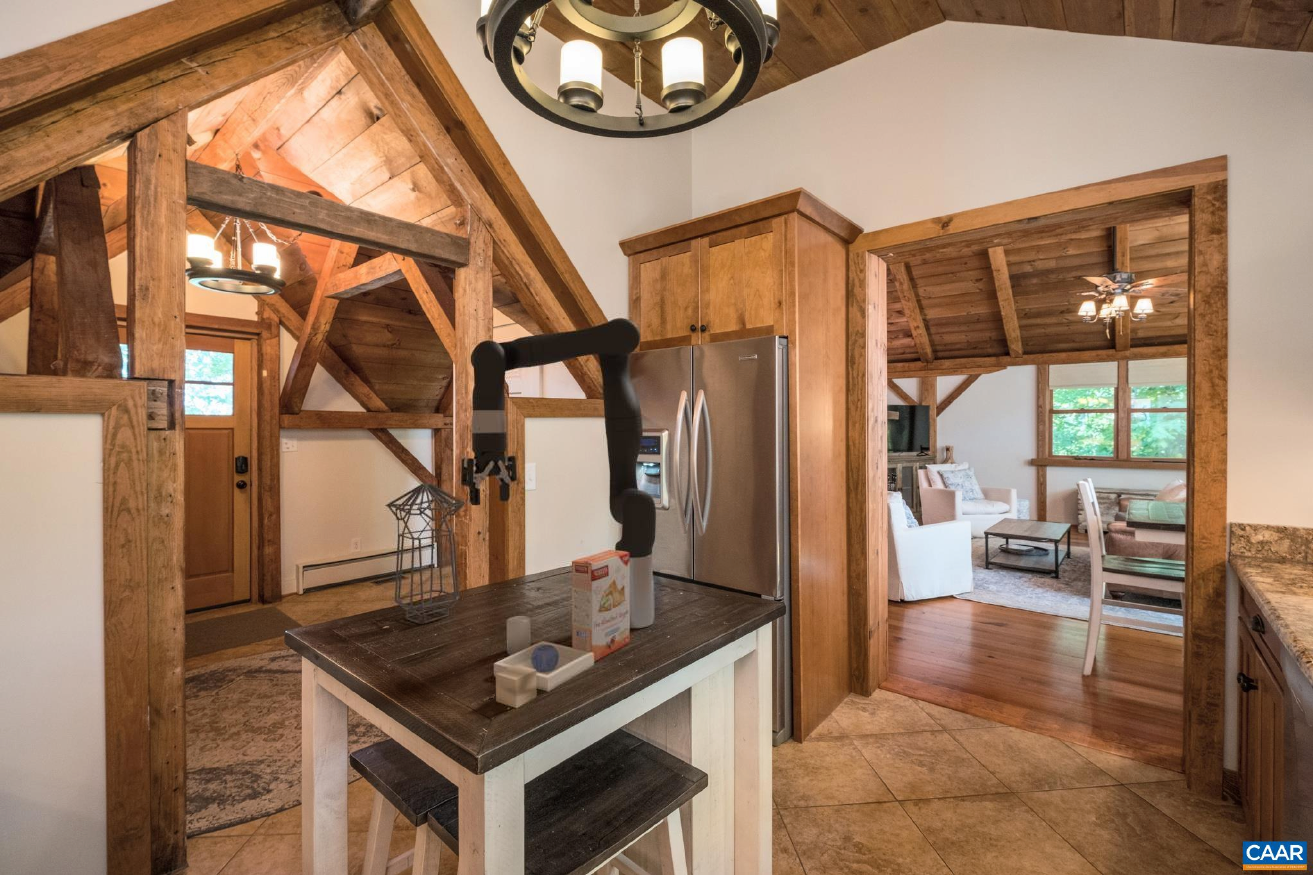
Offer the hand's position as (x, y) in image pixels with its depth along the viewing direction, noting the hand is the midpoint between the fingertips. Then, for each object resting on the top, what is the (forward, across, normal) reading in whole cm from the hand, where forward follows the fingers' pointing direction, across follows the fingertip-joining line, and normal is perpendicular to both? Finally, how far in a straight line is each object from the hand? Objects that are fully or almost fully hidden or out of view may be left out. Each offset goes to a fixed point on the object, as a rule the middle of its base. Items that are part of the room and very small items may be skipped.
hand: (490, 503), depth 132 cm
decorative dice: (+32, -5, -20) cm, 38 cm away
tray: (+32, -5, -20) cm, 38 cm away
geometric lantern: (+32, +6, +30) cm, 44 cm away
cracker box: (+32, +9, -24) cm, 41 cm away
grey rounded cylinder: (+32, 0, -8) cm, 33 cm away
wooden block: (+32, -17, -24) cm, 44 cm away
